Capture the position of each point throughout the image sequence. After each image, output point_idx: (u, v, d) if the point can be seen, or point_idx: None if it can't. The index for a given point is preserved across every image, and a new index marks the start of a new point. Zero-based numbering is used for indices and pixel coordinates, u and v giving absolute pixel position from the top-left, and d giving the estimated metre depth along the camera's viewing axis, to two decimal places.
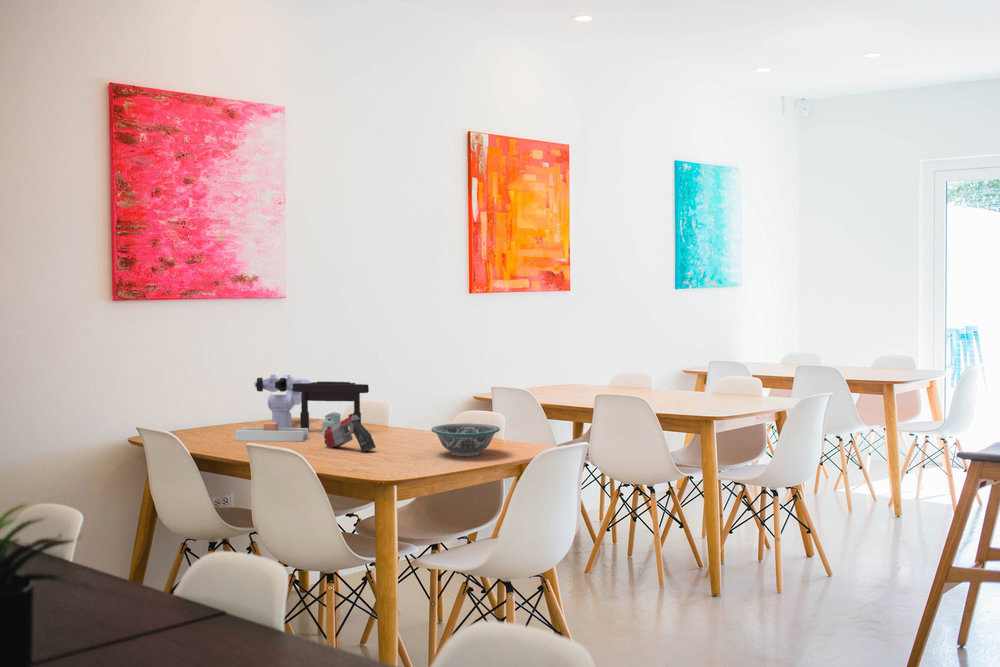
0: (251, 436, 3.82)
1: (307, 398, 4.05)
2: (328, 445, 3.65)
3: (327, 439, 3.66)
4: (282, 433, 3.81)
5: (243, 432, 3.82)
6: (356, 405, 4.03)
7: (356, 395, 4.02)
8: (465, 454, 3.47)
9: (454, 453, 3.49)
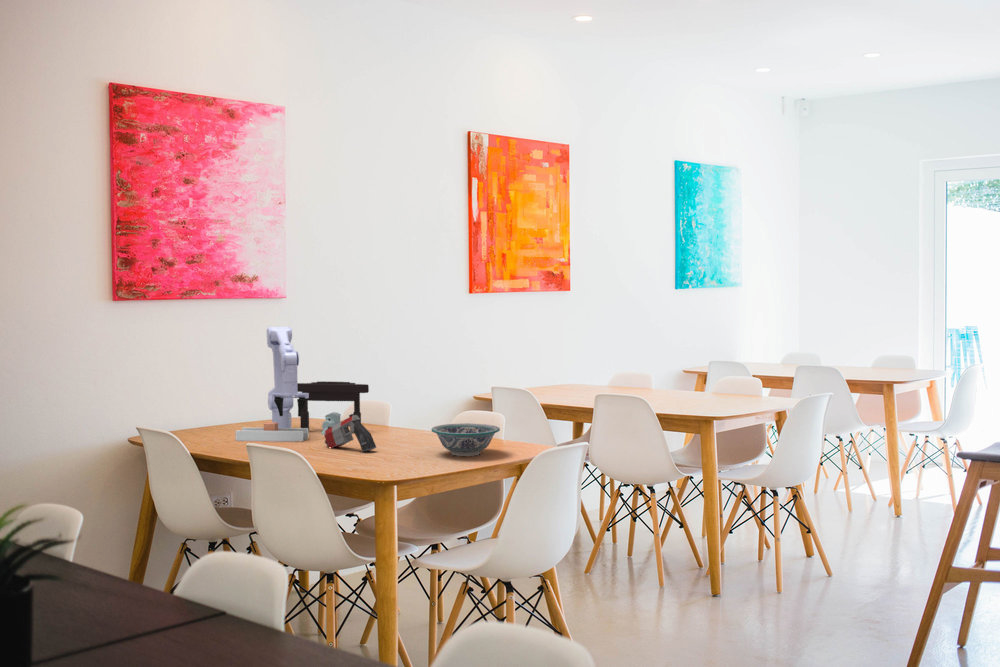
0: (251, 436, 3.82)
1: (307, 398, 4.05)
2: (328, 445, 3.65)
3: (327, 439, 3.66)
4: (282, 433, 3.81)
5: (243, 432, 3.82)
6: (356, 405, 4.03)
7: (356, 394, 4.02)
8: (465, 454, 3.47)
9: (454, 453, 3.49)
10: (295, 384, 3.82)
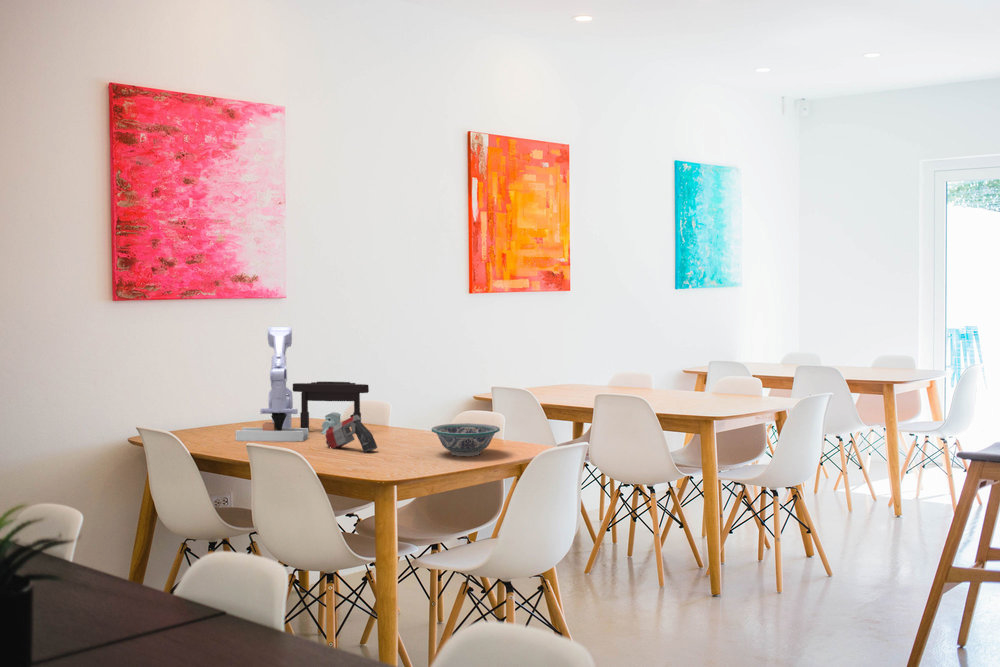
0: (251, 436, 3.82)
1: (307, 398, 4.05)
2: (330, 445, 3.65)
3: (329, 439, 3.65)
4: (282, 433, 3.81)
5: (243, 432, 3.82)
6: (356, 405, 4.03)
7: (356, 395, 4.02)
8: (465, 454, 3.47)
9: (454, 453, 3.49)
10: (284, 400, 3.83)
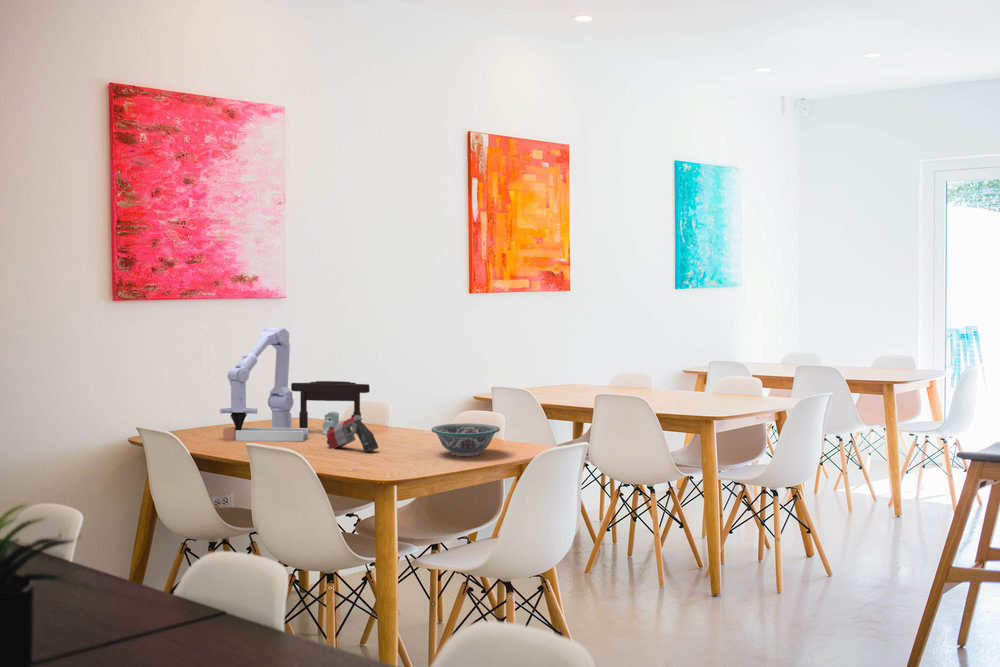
0: (251, 436, 3.82)
1: (306, 398, 4.03)
2: (331, 445, 3.65)
3: (329, 439, 3.65)
4: (282, 433, 3.81)
5: (243, 432, 3.82)
6: (356, 405, 4.03)
7: (356, 394, 4.02)
8: (465, 454, 3.47)
9: (454, 453, 3.49)
10: (243, 400, 3.84)
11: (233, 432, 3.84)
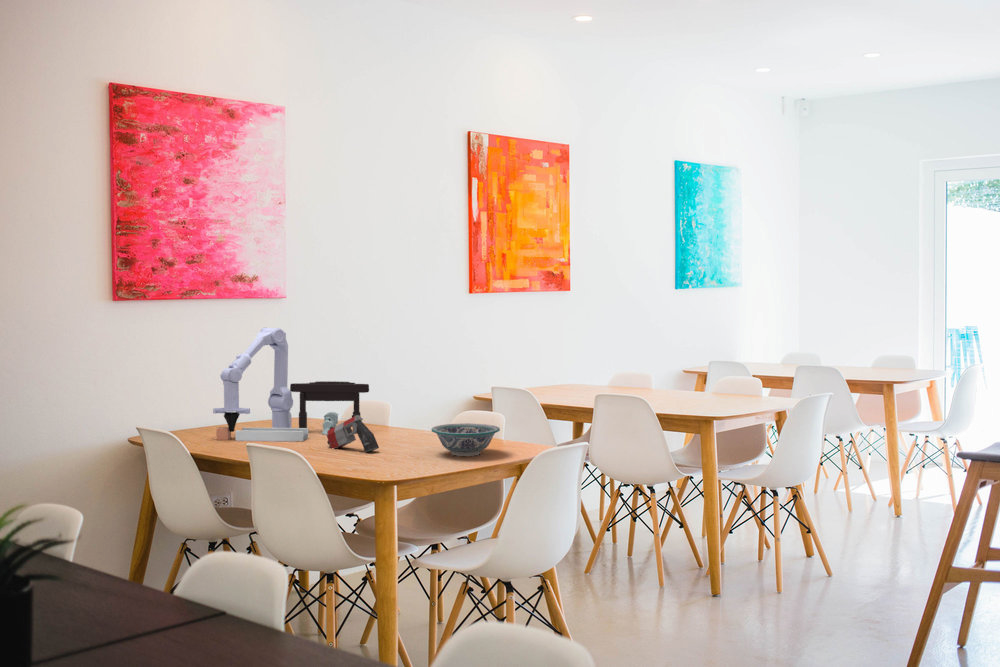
0: (251, 436, 3.82)
1: (306, 398, 4.03)
2: (331, 445, 3.64)
3: (330, 439, 3.65)
4: (282, 433, 3.81)
5: (243, 432, 3.82)
6: (356, 405, 4.04)
7: (356, 394, 4.03)
8: (465, 454, 3.47)
9: (454, 453, 3.49)
10: (236, 400, 3.84)
11: (226, 432, 3.84)
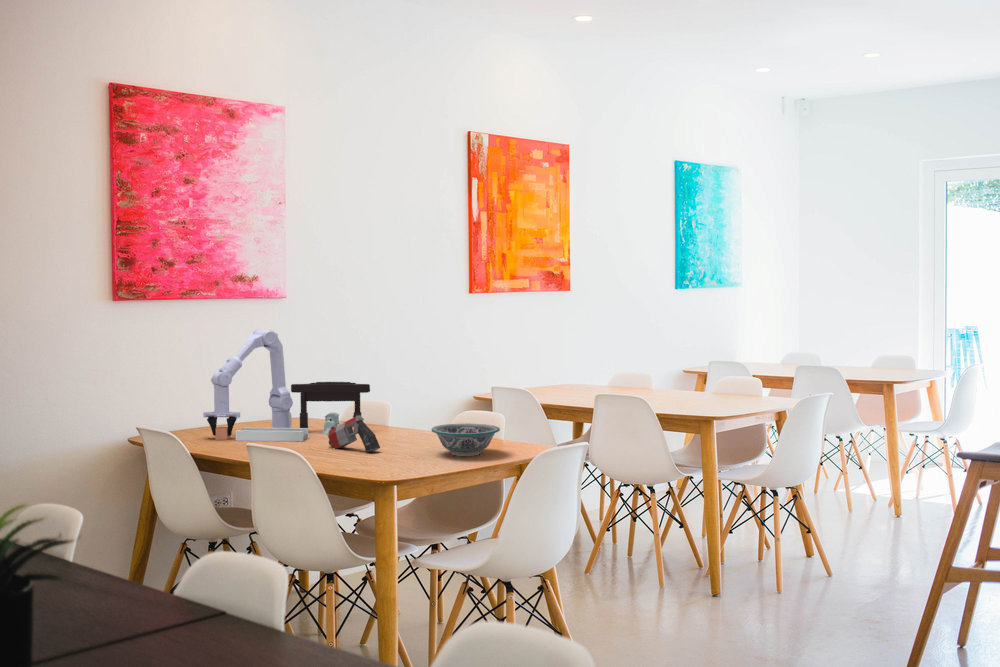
0: (251, 436, 3.82)
1: (306, 399, 4.02)
2: (332, 446, 3.64)
3: (331, 440, 3.65)
4: (282, 433, 3.81)
5: (243, 432, 3.82)
6: (357, 405, 4.04)
7: (357, 394, 4.03)
8: (465, 454, 3.47)
9: (454, 453, 3.49)
10: (226, 403, 3.85)
11: (225, 432, 3.84)
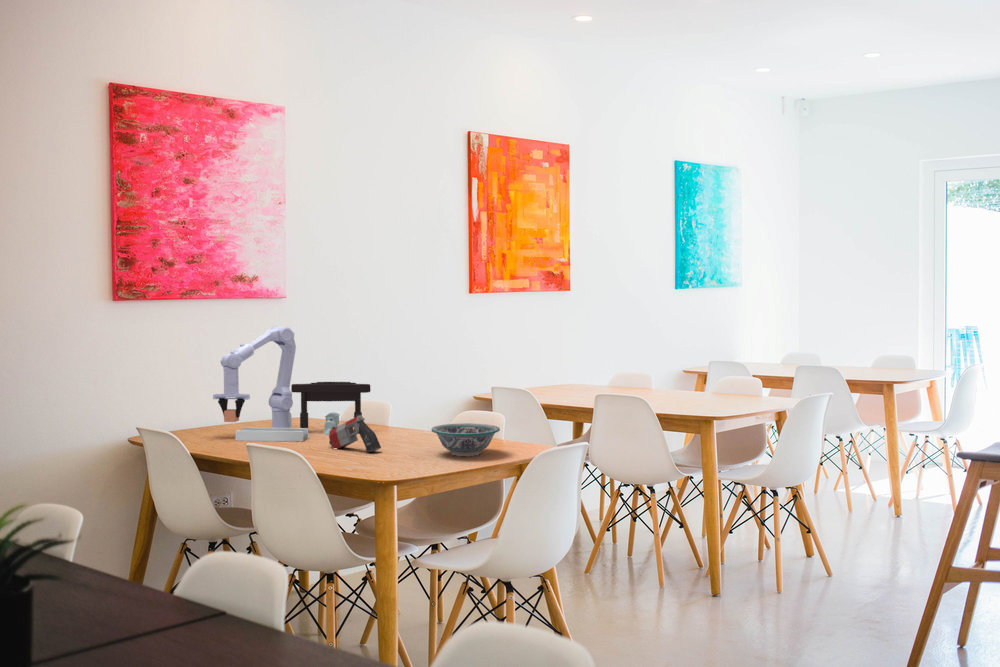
0: (251, 436, 3.82)
1: (307, 399, 4.02)
2: (333, 446, 3.64)
3: (332, 440, 3.64)
4: (282, 433, 3.81)
5: (243, 432, 3.82)
6: (357, 405, 4.04)
7: (358, 394, 4.03)
8: (465, 454, 3.47)
9: (454, 453, 3.49)
10: (236, 385, 3.87)
11: (234, 414, 3.86)
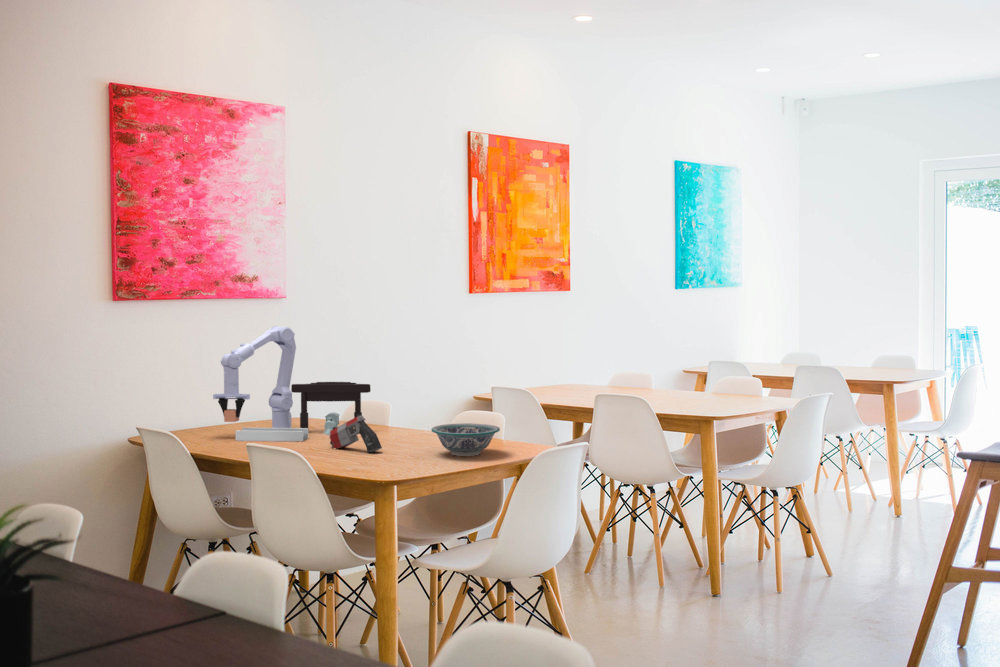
0: (251, 436, 3.82)
1: (307, 399, 4.02)
2: (334, 446, 3.64)
3: (333, 440, 3.64)
4: (282, 433, 3.81)
5: (243, 432, 3.82)
6: (357, 405, 4.04)
7: (358, 394, 4.03)
8: (465, 454, 3.47)
9: (454, 453, 3.49)
10: (236, 385, 3.87)
11: (234, 414, 3.87)
